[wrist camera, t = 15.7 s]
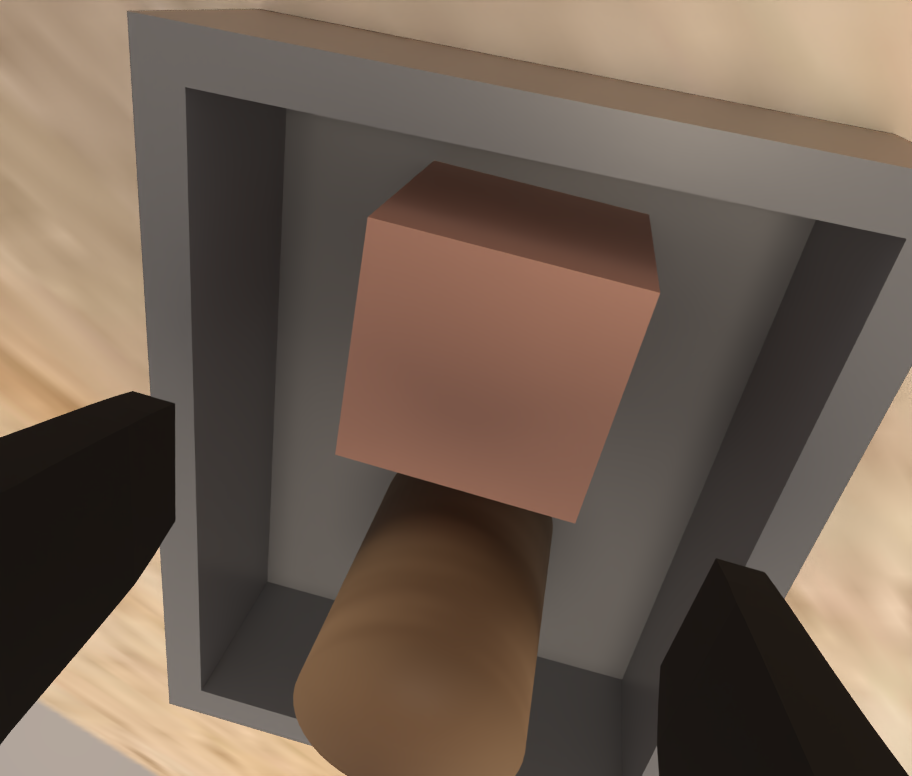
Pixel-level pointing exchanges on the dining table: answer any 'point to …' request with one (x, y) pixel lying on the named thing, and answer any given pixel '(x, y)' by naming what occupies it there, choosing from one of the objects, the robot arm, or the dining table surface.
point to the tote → (646, 393)
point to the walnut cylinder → (431, 639)
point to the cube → (495, 336)
